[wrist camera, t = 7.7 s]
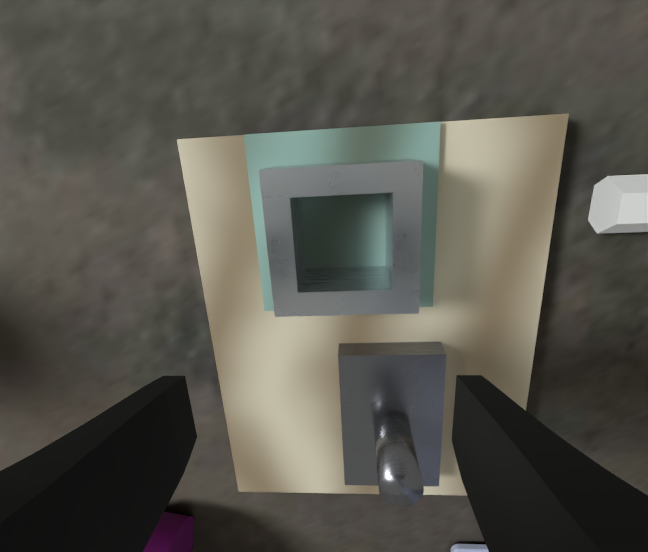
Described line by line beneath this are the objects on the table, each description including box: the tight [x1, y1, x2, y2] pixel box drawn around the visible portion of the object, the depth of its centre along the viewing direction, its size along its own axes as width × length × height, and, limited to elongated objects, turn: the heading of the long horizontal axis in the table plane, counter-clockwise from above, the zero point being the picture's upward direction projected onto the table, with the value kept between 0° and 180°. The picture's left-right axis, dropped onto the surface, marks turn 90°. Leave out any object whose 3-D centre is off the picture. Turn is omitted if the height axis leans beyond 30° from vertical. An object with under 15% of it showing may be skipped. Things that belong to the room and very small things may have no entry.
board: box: [177, 114, 569, 495], centre depth 19 cm, size 16×20×1 cm
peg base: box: [338, 342, 447, 506], centre depth 17 cm, size 5×8×5 cm, turn 3°
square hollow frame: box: [259, 158, 423, 317], centre depth 15 cm, size 6×6×3 cm
